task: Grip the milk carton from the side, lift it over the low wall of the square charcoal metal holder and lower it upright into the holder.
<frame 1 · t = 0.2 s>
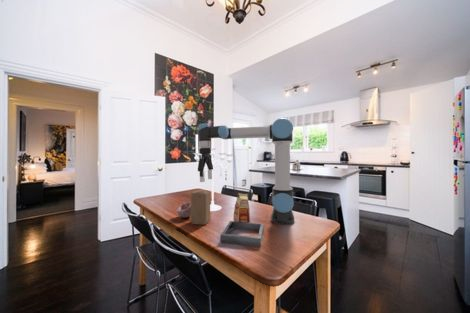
hand: (206, 180, 125), 27 cm above the table, tool pointing down, fingers open, 13 cm apart
milk carton: (242, 224, 121), on the table
carton holder: (243, 236, 104), on the table
wooden block: (200, 222, 125), on the table
mortar and pestle: (185, 217, 134), on the table
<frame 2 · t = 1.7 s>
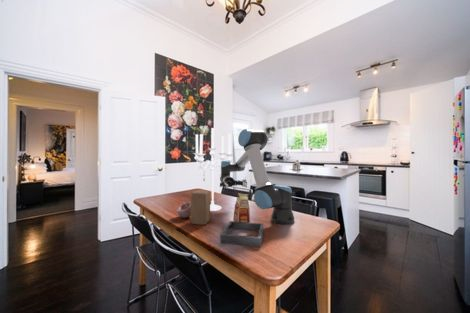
hand: (237, 186, 130), 22 cm above the table, tool horizontal, fingers open, 13 cm apart
nothing on the table moved.
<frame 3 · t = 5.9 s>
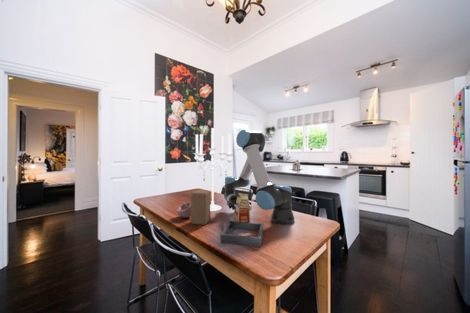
hand: (244, 208, 116), 11 cm above the table, tool horizontal, fingers closed on milk carton, 8 cm apart
milk carton: (242, 224, 121), on the table, touching gripper
everything else where it was.
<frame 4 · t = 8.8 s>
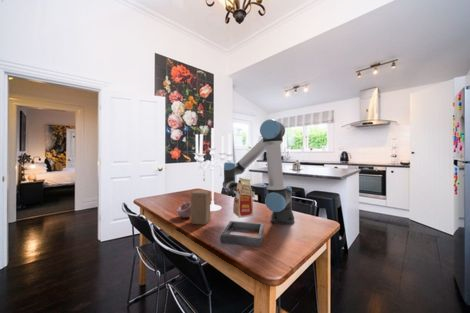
hand: (246, 195, 99), 23 cm above the table, tool horizontal, fingers closed on milk carton, 8 cm apart
milk carton: (243, 214, 104), point 12 cm above the table, touching gripper
everything else where it was.
when the fingers open (12 cm above the table, at t = 11.6 s): milk carton drops 1 cm, resting in carton holder.
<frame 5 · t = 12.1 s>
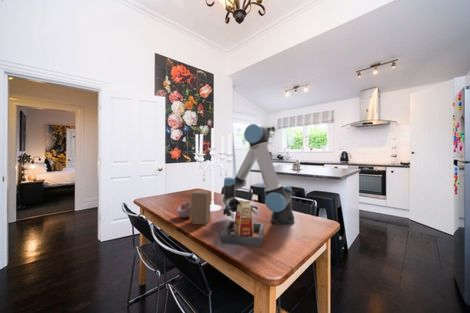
hand: (245, 215, 100), 12 cm above the table, tool horizontal, fingers open, 13 cm apart
milk carton: (243, 236, 103), resting in carton holder
everything else where it was.
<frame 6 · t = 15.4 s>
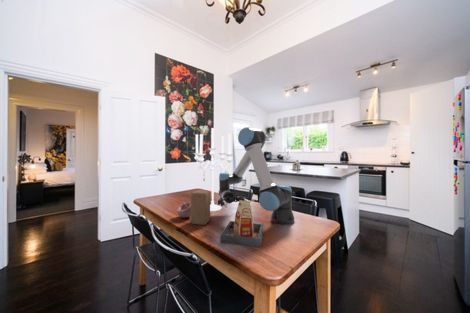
hand: (237, 204, 113), 15 cm above the table, tool horizontal, fingers open, 13 cm apart
nothing on the table moved.
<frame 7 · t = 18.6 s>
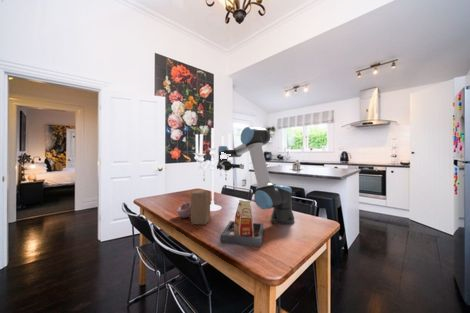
hand: (233, 167, 131), 35 cm above the table, tool horizontal, fingers open, 13 cm apart
nothing on the table moved.
at the end: milk carton inside the target area on the carton holder (0.2 cm from its centre), point 0.0 cm above the carton holder's base; milk carton tilted 0°; the gripper is holding nothing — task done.
